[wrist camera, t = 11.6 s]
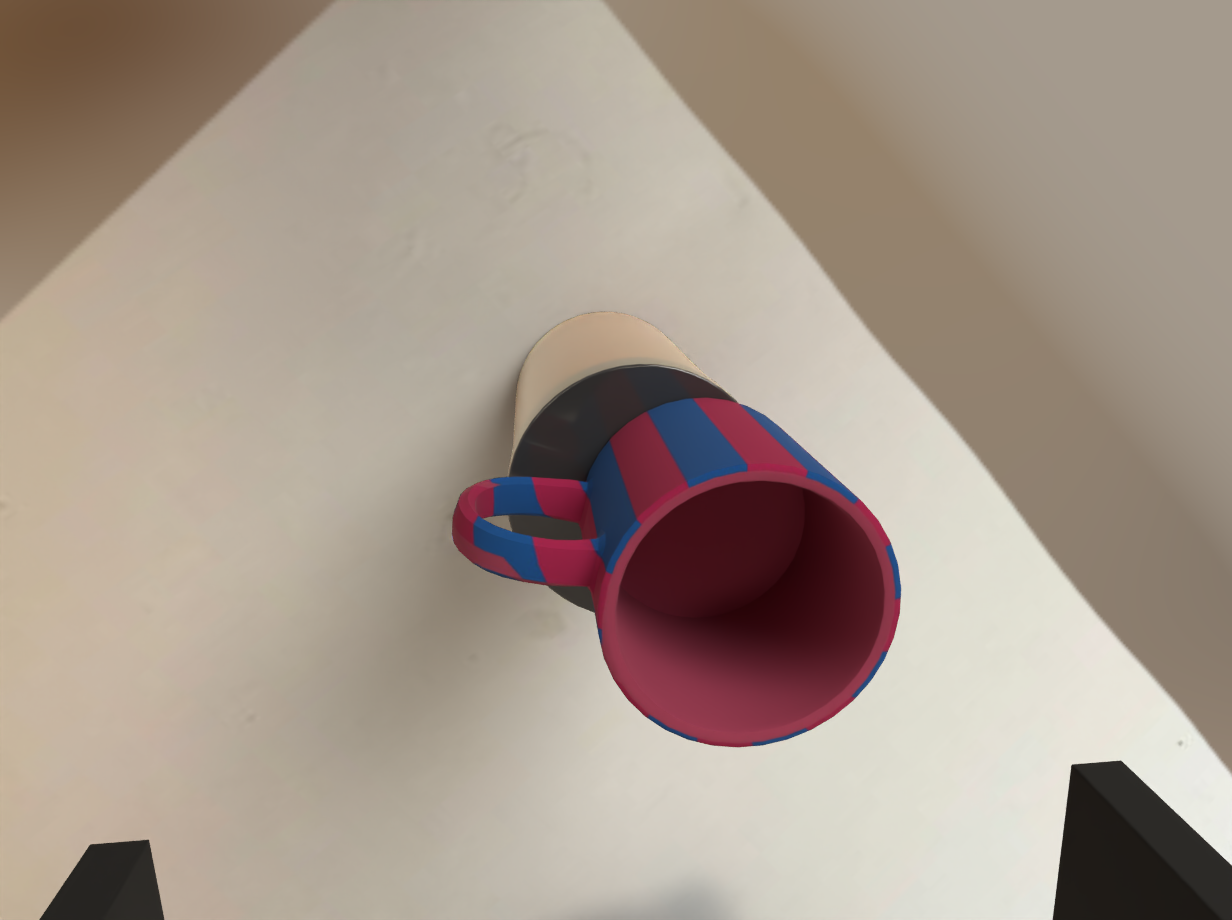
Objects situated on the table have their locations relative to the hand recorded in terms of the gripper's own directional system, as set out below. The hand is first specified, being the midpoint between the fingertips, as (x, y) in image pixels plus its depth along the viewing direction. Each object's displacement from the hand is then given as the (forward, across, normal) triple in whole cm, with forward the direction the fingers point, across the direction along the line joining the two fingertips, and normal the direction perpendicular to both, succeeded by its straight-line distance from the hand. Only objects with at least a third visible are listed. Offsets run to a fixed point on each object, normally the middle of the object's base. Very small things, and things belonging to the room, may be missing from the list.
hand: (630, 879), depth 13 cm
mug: (+14, +2, +1) cm, 14 cm away
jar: (+27, +2, +1) cm, 27 cm away
